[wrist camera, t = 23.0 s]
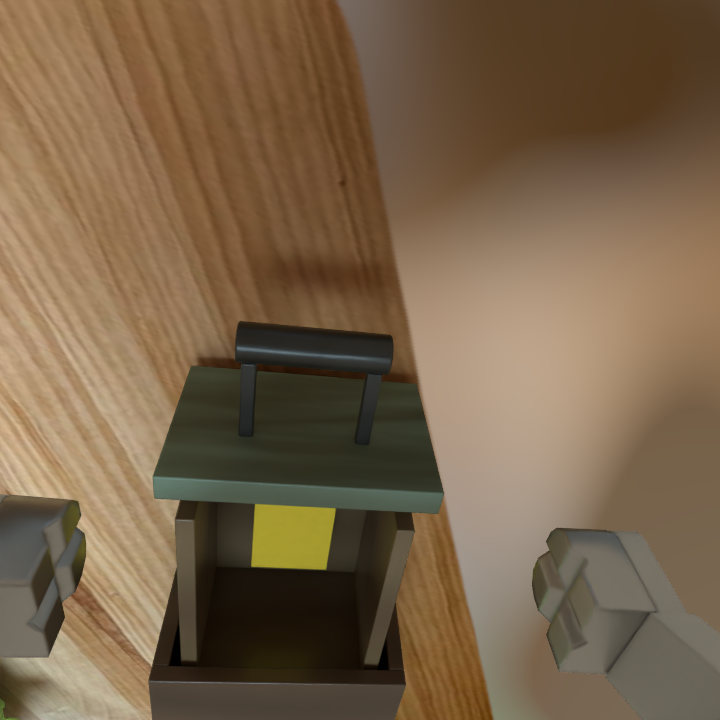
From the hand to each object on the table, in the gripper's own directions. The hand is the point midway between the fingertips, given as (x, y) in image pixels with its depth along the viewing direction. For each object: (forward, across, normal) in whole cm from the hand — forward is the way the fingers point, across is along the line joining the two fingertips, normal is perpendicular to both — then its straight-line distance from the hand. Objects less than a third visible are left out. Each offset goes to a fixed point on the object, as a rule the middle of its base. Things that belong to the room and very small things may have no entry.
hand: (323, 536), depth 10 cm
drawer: (+17, 0, +13) cm, 22 cm away
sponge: (+16, 0, +15) cm, 22 cm away
